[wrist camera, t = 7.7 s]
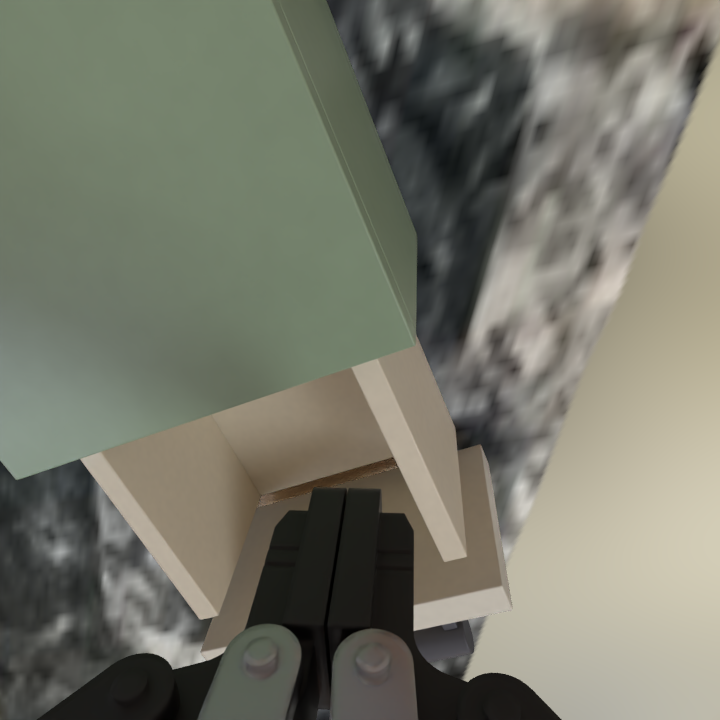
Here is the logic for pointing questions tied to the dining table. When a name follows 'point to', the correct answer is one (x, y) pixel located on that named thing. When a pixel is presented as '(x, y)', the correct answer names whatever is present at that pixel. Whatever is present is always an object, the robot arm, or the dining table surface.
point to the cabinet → (184, 218)
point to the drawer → (304, 464)
